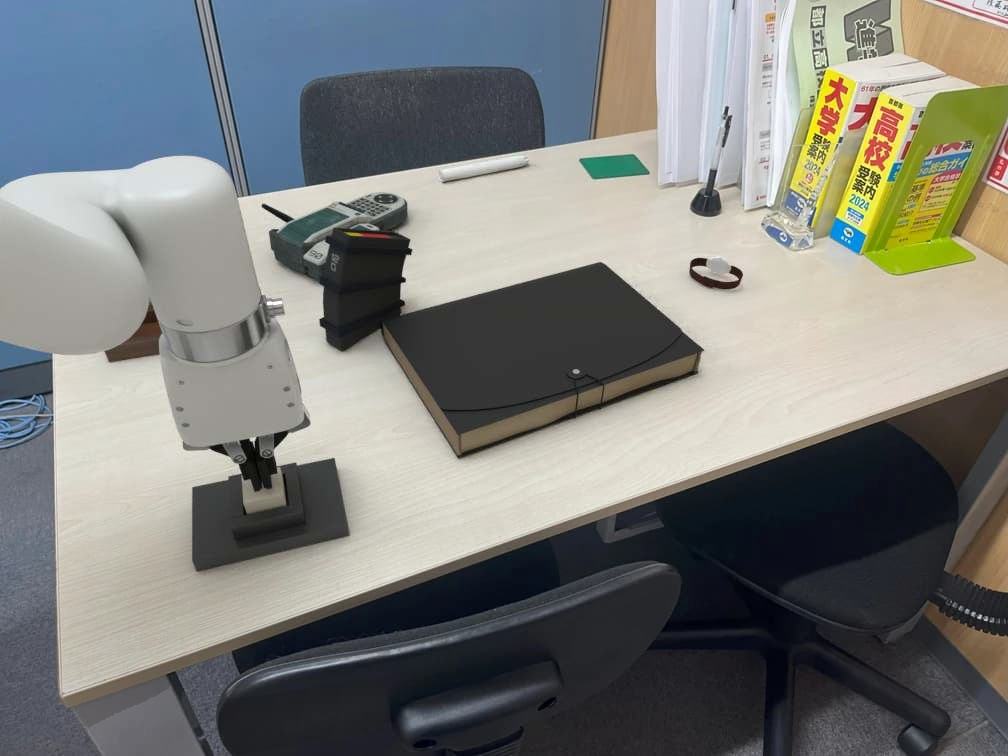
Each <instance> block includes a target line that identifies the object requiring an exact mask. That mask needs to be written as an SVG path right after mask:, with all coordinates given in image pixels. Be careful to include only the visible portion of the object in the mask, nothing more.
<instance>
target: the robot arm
mask: <svg viewBox="0 0 1008 756" xmlns="http://www.w3.org/2000/svg"><path fill="white" fill-rule="evenodd" d="M239 201H240V200H239V197H238V193H237V189H236V187H235V183H234V182H233V179H232V177H231V175H230V174H229V173H228V172H227V170H226V169H225V168H224V167H222V165H220V164H218V163H217V162H216V161H212V160H210V159H208V158H204V157H201V156H195V155H172V156H164V157H163V156H162V157H159V158H154V159H151V160H147V161H144V162H142V163H139V164H137V165H135V166H132V167H130V168H122V169H109V170H108V169H107V170H89V171H87V170H86V171H59V172H47V173H45V172H44V173H38V174H37V173H36V174H31V175H27V176H23V177H20V178H17V179H15V180H12V181H10V182H8V183H6V184H4V185H3V186H2V187H1V188H0V341H1V342H3V343H7V344H11V345H12V346H13V345H14V346H17V347H20V348H24V349H28V350H32V351H36V352H41V353H46V354H52V355H53V354H54V355H60V356H85V355H86V356H87V355H94V354H99V353H102V352H104V351H106V350H109V349H112V348H114V347H116V346H118V345H120V344H122V343H123V342H124V341H126V340H127V339H129V338H130V337H131V336H132V335H133V334H134V333H135V332H136V331H137V330H138V329H139V327H140V325H141V324H142V322H143V320H144V319H145V316H146V313H147V310H148V306H149V297H150V300H151V302H152V305H153V308H154V310H155V313H156V316H157V319H158V322H159V325H160V328H161V330H162V334H161V336H160V338H159V352H160V354H159V359H160V366H161V373H162V378H163V382H164V387H165V391H166V395H167V399H168V403H169V407H170V410H171V414H172V418H173V421H174V424H175V427H176V430H177V432H178V435H179V437H180V439H181V440H182V448H183V450H185V451H187V452H198V451H199V452H200V451H208V450H210V451H212V452H215V453H217V454H220V455H224V456H226V457H227V458H228V457H229V459H230V460H231V462H233V463H234V464H235V465H238V467H239V470H240V474H242V476H243V479H244V481H245V480H251V483H252V486H253V489H254V492H257V491H260V489H262V484H263V487H264V488H266V489H271V488H272V480H271V475H273V474H278V472H277V466H278V465H277V459H276V456H275V449H276V448H277V447H279V445H280V444H281V443H282V442H283V441H284V440H285V439H286V438H287V436H288V435H289V434H294V433H296V432H299V431H301V430H305V429H307V428H308V427H310V426H311V424H312V422H311V417H310V413H309V410H308V409H307V408H306V406H305V404H304V402H303V397H302V388H301V381H300V378H299V375H298V370H297V368H296V364H295V361H294V357H293V354H292V351H291V348H290V345H289V343H288V339H287V337H286V334H285V333H284V331H283V328H282V326H281V324H280V322H279V320H278V319H277V317H280V316H285V315H286V313H285V308H284V303H283V298H282V297H279V298H272V297H268V298H267V295H266V294H262V290H261V287H260V285H259V280H258V276H257V273H256V269H255V265H254V259H253V257H252V252H251V248H250V244H249V240H248V235H247V232H246V228H245V222H244V218H243V215H242V210H241V205H240V202H239ZM253 438H255V440H252V441H251V439H253Z"/></svg>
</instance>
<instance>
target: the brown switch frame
mask: <svg viewBox="0 0 1008 756" xmlns="http://www.w3.org/2000/svg"><path fill="white" fill-rule="evenodd" d="M161 334H162V330H161V328H160V325H159V322H158V319H157V316H156V313H155V310H154V308H153V305H151V306H148V310H147V313H146V316H145V319H144V320H143V322H142V324H141V325H140V327H139V329H138V330H137V331H136V332H135V333H134V334H133V335H132V336H131V337H130V338H129V339H127V340H126V341H124V342H123V343H122V344H120V345H118V346H116V347H114V348H112V349H109V350H106V351H103V352H104V354H105V356H106V359H107V360H108V362H109V363H110V362H116V361H124V360H127V359H128V360H129V359H135V358H141V357H147V356H154V355H160V352H159V338H160V336H161Z"/></svg>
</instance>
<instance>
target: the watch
mask: <svg viewBox="0 0 1008 756" xmlns="http://www.w3.org/2000/svg"><path fill="white" fill-rule="evenodd" d="M694 267H705V268H707V269H708V270H709V271H710V272H711V273H713V274H715V275H718V276H724V275H726V274H730V275H733V276H734V277H736V278H737V280H733V281H722V280H719V279H713V278H711V277H709V276H705V275H704V276H703V275H701V274H700V273H698V272H696V271H695V270H694V269H693V268H694ZM688 273H689V276H690V278H691V279H692V280H694V281H695V282H697V283H699V284H700V285H702V286H704V287H707V288H710V289H717V290H718V289H719V290H723V291H725V290H726V291H728V290H733V289H736V288H738V287H739V286H741V285H740V284H741V282H742V279H743V277H744V273H743V271H742V270H741V269H740V268H739V267H737V266H734V265H733V264H731V262H730V261H729V260H728V259H726V258H725V257H723V256H721V255H719V256H718V255H717V256H712V257H710V258H707V257H706V258H705V257H695V258H693V259H691V261H690V263H689V272H688Z"/></svg>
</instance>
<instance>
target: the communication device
mask: <svg viewBox="0 0 1008 756" xmlns="http://www.w3.org/2000/svg"><path fill="white" fill-rule="evenodd" d="M261 208H262V209H264V210H265V211H267V212H269V213H270V214H271V215H273V216H275V217H277V218H278V219H279V220H281V221H282V222H285V223H284V225H282V226H281V227H280V228H271V229H270V230H269V231H268V237H269V243H270V250H271V251H273V255H274V259H275V260H276V261H277V262H279V263H281V264H283V265H286V266H287V267H290V268H292V269H294V270H296V271H299V272H300V273H303V274H308V276H310V277H311V278H314V279H316V280H318V281H319V277H320V276H324V275H325V267H326V258H327V254H328V249H329V244H328V243H326V242H325V239H326V236H332V232H333V228H334V227H336V228H350V229H364V230H378V231H390V230H391V229H393V228H395V227H397V226H399V225H401V224H402V223H403V222H404V221H405V220H406V219H407V218H408V202H407V200H406V199H405V198H404V197H402V196H401V195H399V194H396V193H393V192H387V191H376V192H374V191H373V192H370V193H366V194H365V195H362V196H359V197H358V198H357V197H356V198H355V199H353V200H351V201H348V202H342V201H332V202H331V203H330V204H328V205H326V206H323V207H321V208H318V209H316V210H314V211H311V212H309V213H307V214H303V215H302V216H299V217H297V218H294V217H292V216H291V215H288V214H286V213H284V212H282V211H280V210H278V209H276V208H274V207H272V206H270V205H268V204H267V203H262V204H261Z"/></svg>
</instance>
